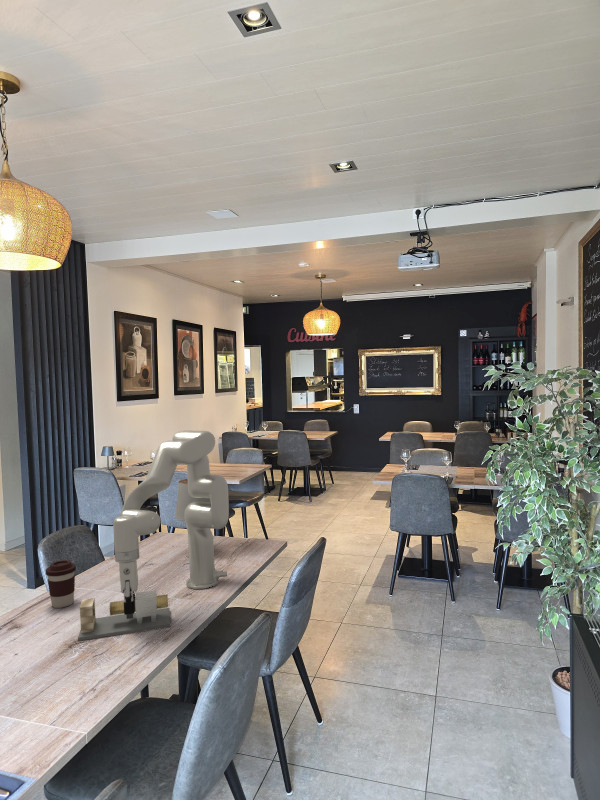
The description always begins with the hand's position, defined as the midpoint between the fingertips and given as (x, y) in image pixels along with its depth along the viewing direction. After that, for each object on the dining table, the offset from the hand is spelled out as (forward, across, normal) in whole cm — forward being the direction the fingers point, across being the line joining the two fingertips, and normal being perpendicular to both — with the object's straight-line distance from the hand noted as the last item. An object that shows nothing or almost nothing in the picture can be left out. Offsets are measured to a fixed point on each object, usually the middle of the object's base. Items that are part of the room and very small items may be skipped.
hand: (129, 609), depth 174 cm
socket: (+5, 0, +13) cm, 14 cm away
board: (+5, 0, +1) cm, 5 cm away
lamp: (+5, +64, -26) cm, 69 cm away
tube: (+2, 0, -3) cm, 4 cm away
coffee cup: (+5, +26, +25) cm, 36 cm away
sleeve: (+5, 0, -5) cm, 7 cm away
